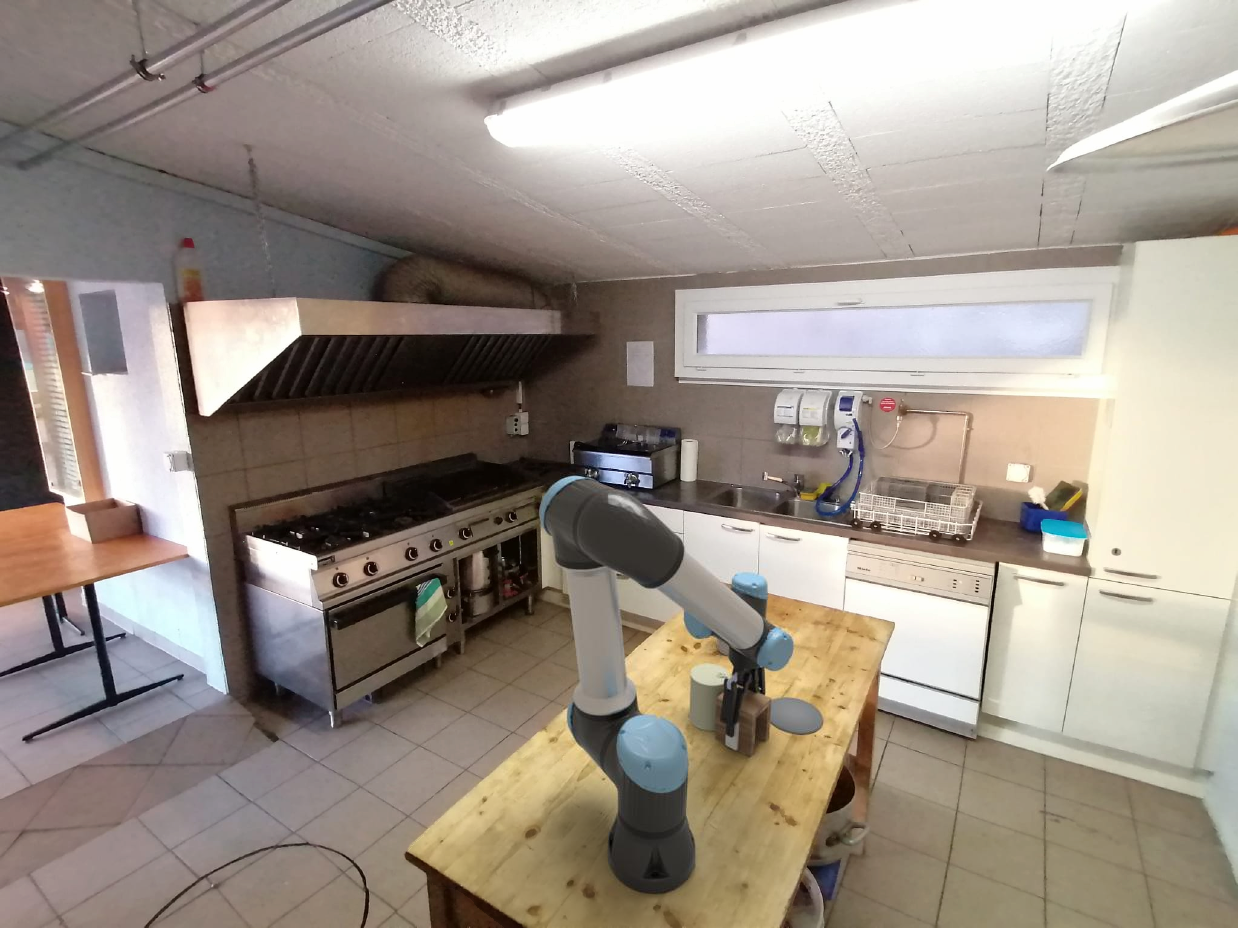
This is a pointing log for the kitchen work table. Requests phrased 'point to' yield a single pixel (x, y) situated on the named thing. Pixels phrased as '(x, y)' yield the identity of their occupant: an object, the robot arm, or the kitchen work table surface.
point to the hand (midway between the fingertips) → (741, 736)
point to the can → (705, 694)
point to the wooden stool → (747, 720)
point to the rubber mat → (795, 716)
